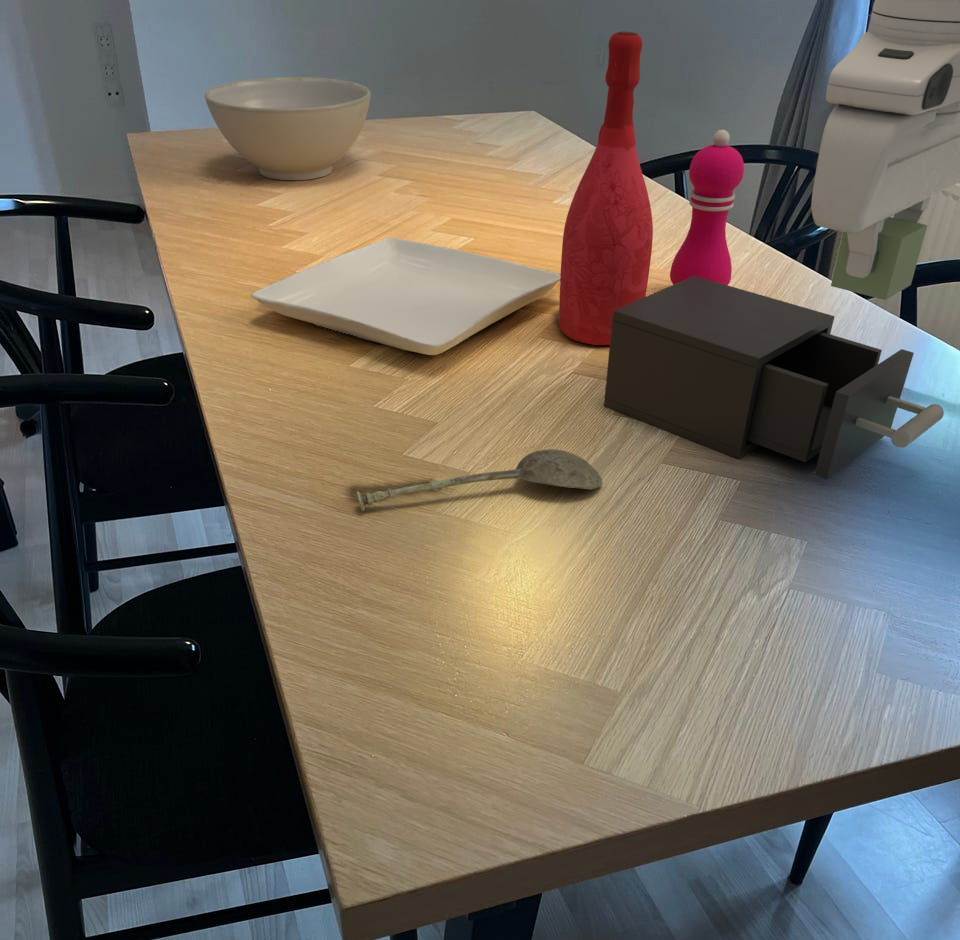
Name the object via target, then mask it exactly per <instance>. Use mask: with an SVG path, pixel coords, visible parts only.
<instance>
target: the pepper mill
mask: <svg viewBox="0 0 960 940" xmlns="http://www.w3.org/2000/svg"><path fill="white" fill-rule="evenodd" d="M730 138H731V136H730V134H729V132H728V131H727V130H726V129H719V130H717V131H716V132H714V135H713V138H712V142H713V144H710V145H707V146H704V147H702V148H701V149H699V150H698V151H697V152H696V153H695V155H694V156H693V157H692V160H691V161H690V165H689V170H688V177H689V181H690V183H691V185H692V186H693V189H692V190H691V191H690V193H689V194H690V200H689V202H688V203H689V205H690V207H692V208H691V221H690V226H689V229H688V232H687V235H686V236H685V239H684V240H683V242H682V244H681V246H680V247H679V249H678V250H677V252H676V254H675V256H674V258H673V261H672V263H671V267H670V270H669V279H670V281H671V284H672V285H674V284H676V283H679V282H681V281H683V280H685V279H688V278H690V277H692V276H697V277H700V278H704V279H707V280H711V281H714V282H718V283H721V284H724V285H728V286H729V284H730V283H731V280H732V271H733V268H732V259H731V255H730V252H729V246H728V243H727V237H726V234H727V233H726V227H727V219H728V215H729V211H730V210H731V209H733V208H734V206H735V204H734V200H735V198H736V194H735V193H734V190H735V189H736V188H737V187H738V186H739V185H740V184H741V182H742V181H743V177H744V171H745V164H744V159H743V156H742V155H741V153H740V152H739V151H738V150H737V149H736V148H734V147H732V146H730V145H728V144H729V143H730Z"/></svg>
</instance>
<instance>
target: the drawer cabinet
mask: <svg viewBox="0 0 960 940" xmlns="http://www.w3.org/2000/svg"><path fill="white" fill-rule="evenodd" d="M834 321H835V315H832V314H830V313H829V314H828V313H825V312H821V311H818V310H816V309H815V310H814V309H811V308H807V307H804V306H800V305H798V304H793V303H790V302H786V301H783V300H780V299H777V298H772V297H769V296H766V295H763V294H760V293H756V292H752V291H749V290H745V289H741V288H738V287H735V286H732V285H729V284H728V285H724V284H721V283H718V282H714V281H711V280H707V279H704V278H700V277H697V276H692V277H690V278H688V279H685V280H683V281H681V282H679V283H676V284H674V285H673V284H672V285H670V286H667V287H665V288H663V289H660V290H657V291H655V292H653V293H651V294H649V295H646V297H644V298H642V299H639V300H637V301H635V302H632V303H630V304H628V305H626V306H623V307H621V308H619V309H616V310H614V311H613V320H612V328H611V339H610V345H609V349H608V360H607V370H606V379H605V390H604V400H603V406H604V407H605V408H608V409H611V410H613V411H615V412H619V413H621V414H622V415H626V416H629V417H631V418H633V419H635V420H636V419H637V420H639V421H641V422H644V423H646V424H649V425H652V426H654V427H656V428H659V429H662V430H664V431H667V432H669V433H672V434H674V435H677V436H679V437H682V438H684V439H687V440H690V441H692V442H695V443H697V444H698V445H699V444H700V445H702V446H704V447H707V448H709V449H712V450H715V451H716V452H717V451H718V452H720V453H722V454H725V455H728V456H730V457H733V458H735V459H738V460H739V459H741V458H742V457H744V456H746V455H747V454H749V453H750V452H752V451H754V450H755V449H756V448H758V447H759V446H760V445H758V444H755V443H753V442H750V441H748V440H747V437H748V432H749V427H750V422H751V417H752V412H753V408H754V403H755V398H756V393H757V388H758V383H759V378H760V373H761V368H762V365H763V364H765V363H767V362H768V361H770V360H772V359H774V358H775V357H777V356H779V355H781V354H782V353H784V352H786V351H788V350H789V349H791V348H793V347H795V346H796V345H798V344H800V343H802V342H804V341H805V340H807V339H809V338H811V337H812V336H814V335H816V334H818V333H819V332H824V333H827V334H832V329H833V324H834Z"/></svg>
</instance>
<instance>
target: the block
mask: <svg viewBox="0 0 960 940" xmlns="http://www.w3.org/2000/svg"><path fill="white" fill-rule="evenodd" d="M927 229H928V224H924V223H921V222H920V223H915V222H910V221H906V220H901V219H896V218H893V217H892V216H891V217H889V218H887V219H885V220H884V224H883V228H882V231H881V232H878V239H877V250H876V251H880V254H879V258H878V262H877V265H876V269H875V271H874V272H873V273H872V274H870V275H868V276H866V277H864V278H858V277H854V276H850V275H848V274H847V273H846V265H847V261H848V256H849V252H850V251H849V244H848V236H847V233H846V232H842V235H841V239H840V244H839V248H838V252H837V255H836V256H837V258H836V261H835V265H834V270H833V274H832V279H831V284H830V287H832V288H837V289H840V290H845V291H848V292H853V293H856V294H860V295H864V296H868V297H871V298H875V299H880V300H883V301H887V300H888V299H890V298H892V297H893V296H895V295H897V294H898V293H900V292H902V291H903V290H905V289H907V288H908V287H910V286H912V282H913V278H914V275H915V271H916V269H917V264H918V261H919V257H920V254H921V250H922V247H923V243H924V239H925V235H926V233H927Z"/></svg>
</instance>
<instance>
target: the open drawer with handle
mask: <svg viewBox="0 0 960 940" xmlns="http://www.w3.org/2000/svg"><path fill="white" fill-rule="evenodd" d="M882 352H883V349H881V348H877V347H874V346H871V345H867V344H864V343H860V342H857V341H854V340H851V339H847V338H844V337H840V336H837V335H834V334H832V333H830V334H827V333H824V332H819V333H818V334H816V335H814V336H812V337H811V338H809V339H807V340H805V341H804V342H802V343H800V344H798V345H796V346H795V347H793V348H791V349H789V350H788V351H786V352H784V353H782V354H781V355H779V356H777V357H775V358H774V359H772V360H770V361H768V362H767V363H765V364H763V365H762V368H761V373H760V378H759V383H758V388H757V393H756V398H755V403H754V408H753V412H752V417H751V422H750V427H749V432H748V437H747V440H748V441H750V442H753V443H755V444H758V445H759V446H761V447H763V448H766V449H769V450H771V451H774V452H776V453H779V454H781V455H784V456H787V457H790V458H792V459H795V460H798V461H800V462H803V463H807V462H808V461H809V460H811V459H812V458H814V457H815V456H816V455H818V454H819V455H818V459H817V463H816V467H815V471H814V476H817V477H819V478H822V479H824V480H828V479H830V477H832V476H833V475H834V474H836V473H838V471H840V470H841V469H842V468H843V467H845V466H847V465H848V464H849V463H850V462H852V461H853V460H855V459H856V458H857V457H859V456H860V455H861V454H863V453H864V452H865V451H867V450H868V449H869V448H870V447H872V446H873V445H874V444H876V443H877V442H878V441H880V440H882V438H884V437H886V438H890V440H891V443H892V445H893V446H894V447H896V448H898V449H904V448H907V447H908V446H909V445H910V444H912V443H913V442H914V441H915V440H917V439H918V438H919V437H921V435H923V434H924V433H926V432H927V431H928V430H929V429H930V428H932V427H933V426H934V425H935V424H937V423H938V422H939V421H941V420H942V419H943V418H944V413H945V411H944V408H943V407H942V406H941V404H938V403H931V404H929V405H928V406H926V407H925V406H923V405H920V404H916V403H914V402H910V401H907V400H904V399H901V396H902V393H903V390H904V387H905V383H906V380H907V378H908V374H909V371H910V367H911V363H912V360H913V357H914V354H915V353H914V351H910V350H906V349H902V348H901V349H899V350H897V351H896V352H895V353H893V354H892V355H890V356H889V357H887V358H886V359H884V360H883V361H880V359H881V355H882ZM879 361H880V363H879ZM897 409H901V410H904V411H907V412H910V413H912V414H916V415H914V416H913V417H912V418H911V419H909V420H908V421H907V422H905V423H904V424H902V425H901V426H900V427H899V428H897V429H894V428H893V427H892V426H893V423H894V419H895V417H896V413H897Z"/></svg>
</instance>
